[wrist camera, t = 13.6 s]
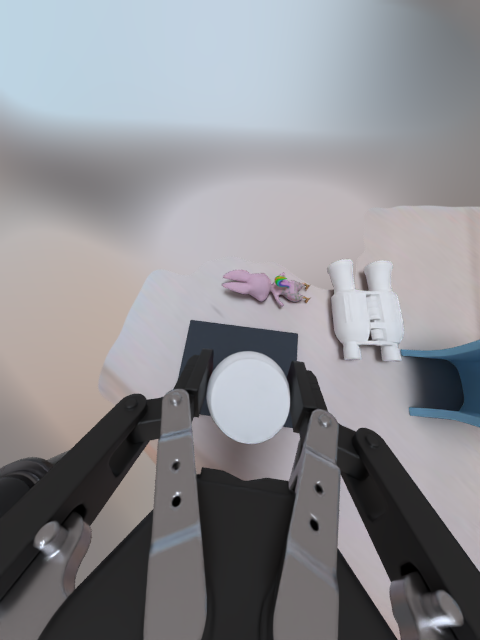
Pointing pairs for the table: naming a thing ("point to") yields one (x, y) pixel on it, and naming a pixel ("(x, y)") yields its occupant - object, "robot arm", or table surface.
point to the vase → (476, 378)
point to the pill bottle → (248, 397)
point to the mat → (239, 347)
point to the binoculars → (366, 310)
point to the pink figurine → (264, 286)
